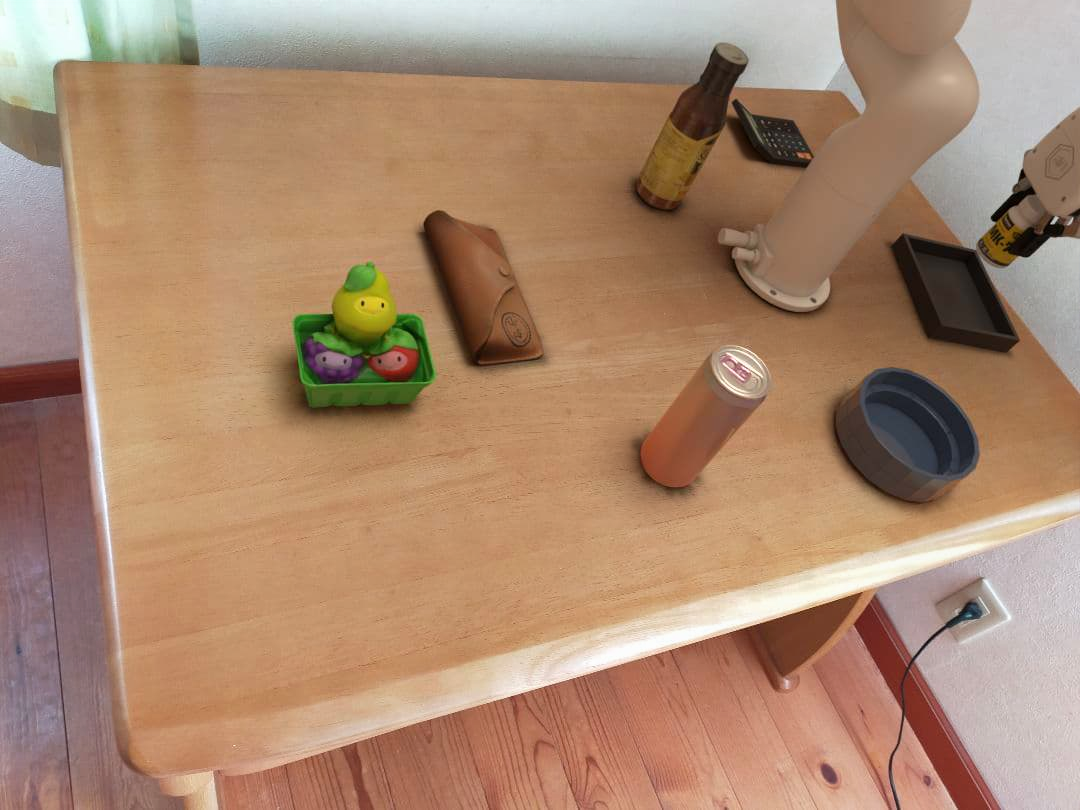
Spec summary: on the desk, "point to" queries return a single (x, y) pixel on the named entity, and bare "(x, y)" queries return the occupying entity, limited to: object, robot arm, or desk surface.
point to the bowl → (907, 434)
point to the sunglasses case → (483, 291)
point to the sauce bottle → (691, 130)
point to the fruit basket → (362, 347)
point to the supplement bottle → (1009, 231)
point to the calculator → (775, 138)
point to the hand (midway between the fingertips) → (1009, 236)
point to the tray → (954, 294)
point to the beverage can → (705, 415)
